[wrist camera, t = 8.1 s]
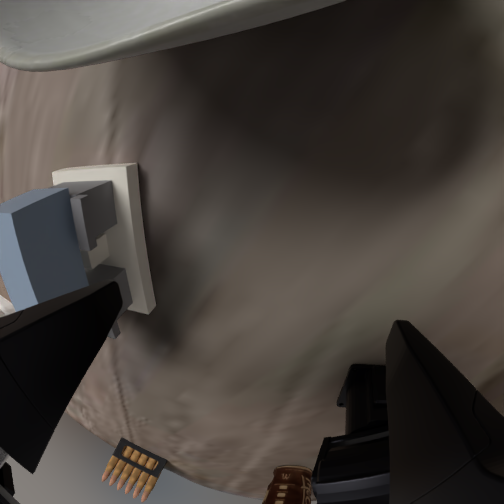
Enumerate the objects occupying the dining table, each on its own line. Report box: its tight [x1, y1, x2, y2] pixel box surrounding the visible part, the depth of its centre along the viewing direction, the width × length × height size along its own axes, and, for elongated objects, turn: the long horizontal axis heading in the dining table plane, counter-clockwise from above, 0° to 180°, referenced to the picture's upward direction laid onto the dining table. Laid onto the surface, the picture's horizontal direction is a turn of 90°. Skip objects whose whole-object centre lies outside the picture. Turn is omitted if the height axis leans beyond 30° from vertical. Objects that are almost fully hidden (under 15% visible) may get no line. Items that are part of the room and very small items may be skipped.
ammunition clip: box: [102, 438, 167, 502], centre depth 42 cm, size 11×2×12 cm, turn 70°
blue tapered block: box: [0, 188, 89, 312], centre depth 17 cm, size 12×4×5 cm, turn 178°
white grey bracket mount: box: [47, 163, 156, 339], centre depth 21 cm, size 13×9×6 cm
